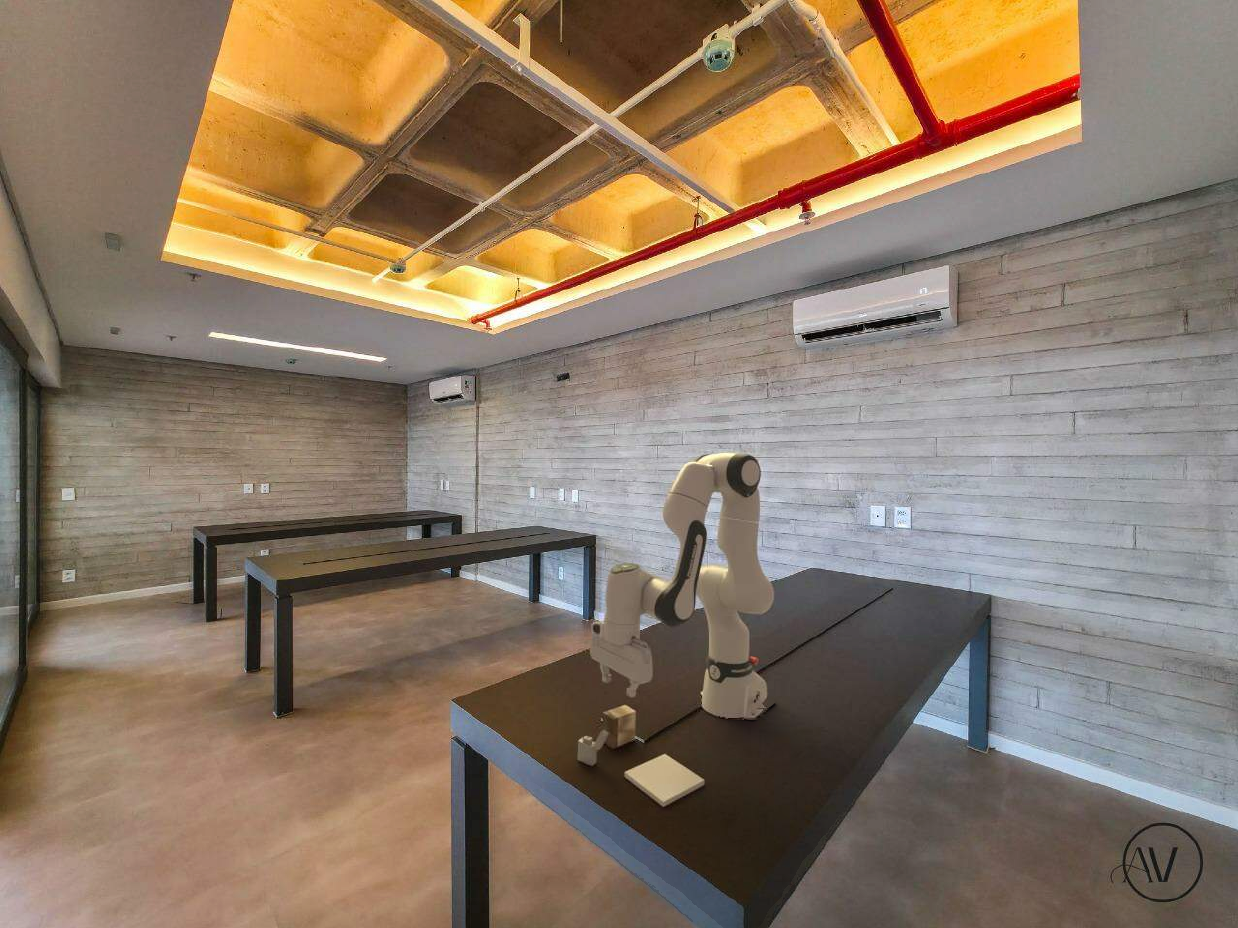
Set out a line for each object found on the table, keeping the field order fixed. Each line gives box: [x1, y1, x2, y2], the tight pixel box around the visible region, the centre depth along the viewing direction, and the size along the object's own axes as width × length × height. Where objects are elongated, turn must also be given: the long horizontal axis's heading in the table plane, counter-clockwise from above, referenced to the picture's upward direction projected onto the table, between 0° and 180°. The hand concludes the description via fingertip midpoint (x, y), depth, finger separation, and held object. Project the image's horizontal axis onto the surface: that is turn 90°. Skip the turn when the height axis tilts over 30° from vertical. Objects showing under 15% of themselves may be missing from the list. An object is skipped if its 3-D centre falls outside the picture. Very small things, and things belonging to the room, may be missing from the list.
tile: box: [624, 753, 705, 808], centre depth 108 cm, size 12×12×1 cm
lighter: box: [577, 730, 609, 767], centre depth 114 cm, size 7×2×8 cm, turn 59°
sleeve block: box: [601, 704, 637, 750], centre depth 124 cm, size 7×4×7 cm, turn 129°
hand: (618, 688), depth 123 cm, fingers open, 8 cm apart
